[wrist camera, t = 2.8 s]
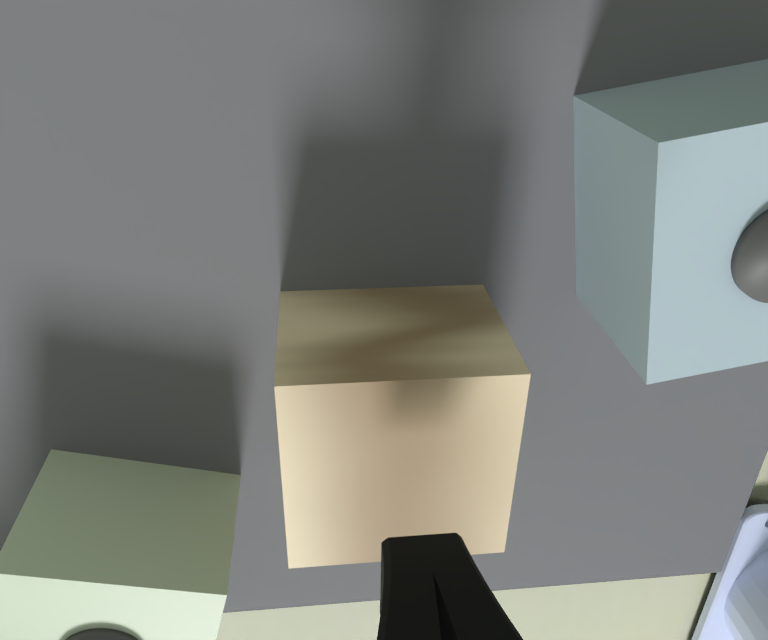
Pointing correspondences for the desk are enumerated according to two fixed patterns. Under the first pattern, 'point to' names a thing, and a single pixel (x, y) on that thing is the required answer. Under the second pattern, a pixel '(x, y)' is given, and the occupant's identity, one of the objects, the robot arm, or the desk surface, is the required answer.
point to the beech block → (395, 419)
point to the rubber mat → (344, 254)
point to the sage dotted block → (118, 552)
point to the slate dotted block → (676, 219)
